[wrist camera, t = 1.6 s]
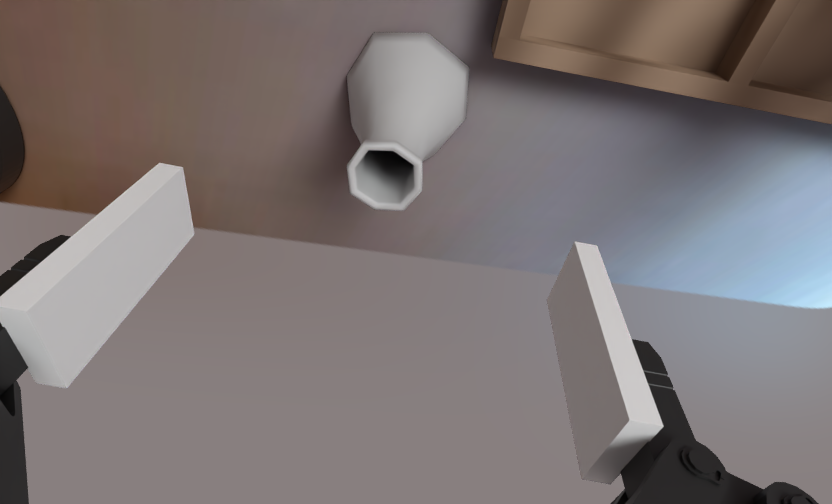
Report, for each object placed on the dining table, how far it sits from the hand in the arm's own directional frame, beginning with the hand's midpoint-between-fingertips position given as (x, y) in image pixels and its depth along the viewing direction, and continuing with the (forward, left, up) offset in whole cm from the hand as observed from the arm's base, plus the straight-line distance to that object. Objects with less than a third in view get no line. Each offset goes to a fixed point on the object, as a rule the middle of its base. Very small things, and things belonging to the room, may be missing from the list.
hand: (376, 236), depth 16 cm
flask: (0, 0, -14) cm, 14 cm away
